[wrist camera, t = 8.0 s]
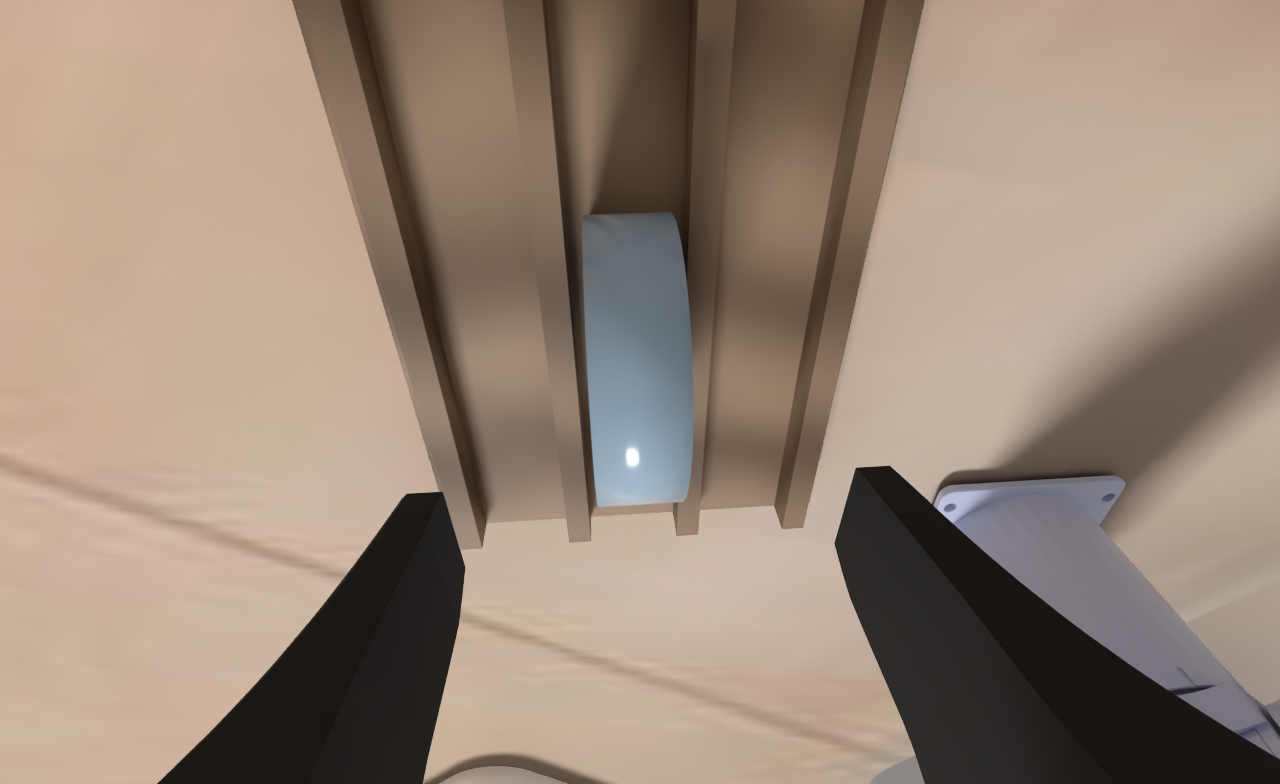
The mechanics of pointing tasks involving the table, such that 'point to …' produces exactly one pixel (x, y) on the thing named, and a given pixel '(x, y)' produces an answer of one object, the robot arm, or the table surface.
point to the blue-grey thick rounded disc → (638, 358)
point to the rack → (612, 184)
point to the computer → (499, 776)
